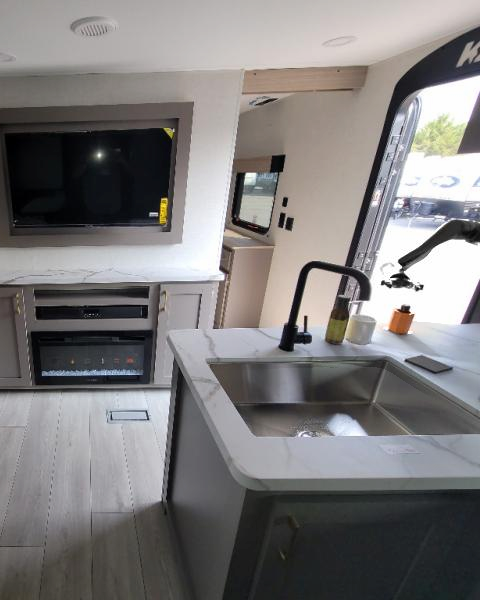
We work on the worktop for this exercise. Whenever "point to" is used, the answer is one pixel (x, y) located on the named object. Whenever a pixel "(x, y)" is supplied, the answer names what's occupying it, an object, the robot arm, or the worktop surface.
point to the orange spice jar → (400, 321)
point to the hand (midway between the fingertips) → (403, 288)
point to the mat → (428, 364)
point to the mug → (360, 329)
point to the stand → (403, 309)
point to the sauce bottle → (338, 321)
